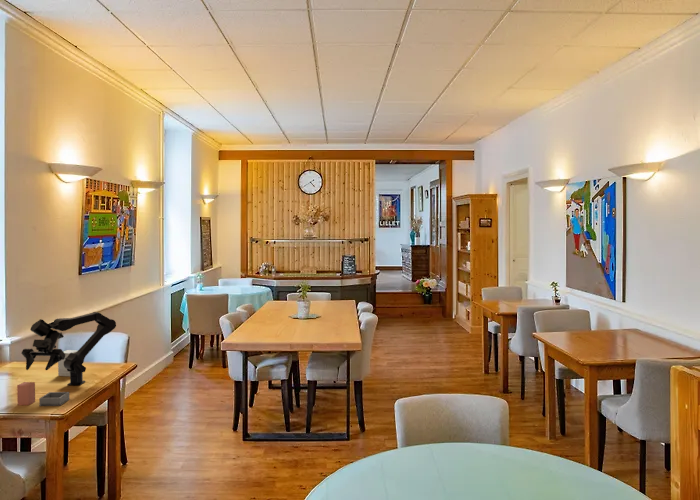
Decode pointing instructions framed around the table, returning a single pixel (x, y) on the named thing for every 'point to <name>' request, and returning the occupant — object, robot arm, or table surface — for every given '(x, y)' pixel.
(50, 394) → the open box
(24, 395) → the red block
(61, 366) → the supplement box
